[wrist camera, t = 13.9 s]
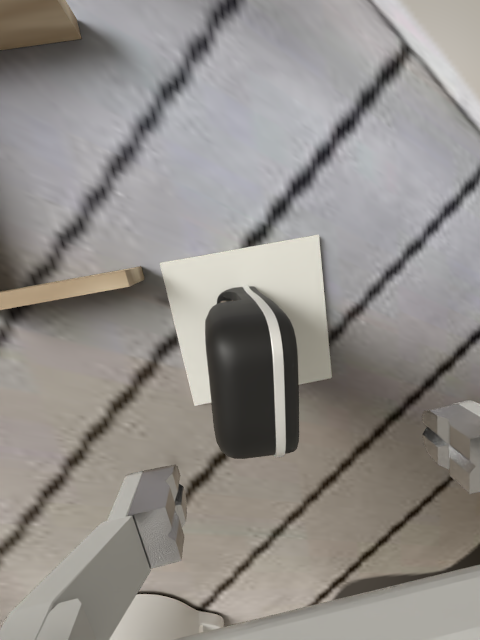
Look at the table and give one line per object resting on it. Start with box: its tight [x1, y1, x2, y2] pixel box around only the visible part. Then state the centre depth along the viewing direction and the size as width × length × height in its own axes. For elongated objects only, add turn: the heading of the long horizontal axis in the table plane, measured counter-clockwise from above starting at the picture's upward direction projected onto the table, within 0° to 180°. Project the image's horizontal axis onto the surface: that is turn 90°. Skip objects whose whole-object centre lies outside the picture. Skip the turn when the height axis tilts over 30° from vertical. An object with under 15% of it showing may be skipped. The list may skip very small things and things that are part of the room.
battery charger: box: [205, 285, 299, 459], centre depth 17 cm, size 7×4×11 cm, turn 4°
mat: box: [160, 235, 332, 406], centre depth 22 cm, size 12×12×1 cm
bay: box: [0, 0, 145, 310], centre depth 17 cm, size 16×12×4 cm
